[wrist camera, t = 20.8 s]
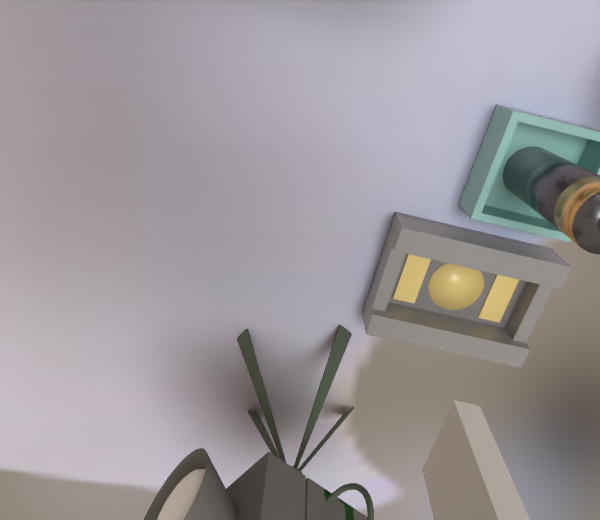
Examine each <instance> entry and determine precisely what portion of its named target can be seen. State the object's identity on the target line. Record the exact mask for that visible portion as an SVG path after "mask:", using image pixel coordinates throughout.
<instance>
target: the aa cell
mask: <svg viewBox="0 0 600 520" xmlns="http://www.w3.org/2000/svg"><path fill="white" fill-rule="evenodd" d="M503 181H504V184H505V186H506V187H507V189H508V190H509V191H511V192H512V193H513V194H514V195H516V196H517V197H518V198H519V199H521V200H522V201H523V202H524V203H526V204H527V205H528V206H530V207H531V208H532V209H533V210H535V211H536V212H537V213H538V214H540V215H541V216H542V217H544V218H545V219H546V220H547V221H549V222H550V223H551V224H552V225H554V226H555V227H556V228H558V229H559V230H560V231H561V232H562V233H563V234H565V235H566V236H567V237H568V238H570V239H571V240H572V241H574V242H575V243H576V244H577V245H579V246H580V247H581V248H583V249H584V250H586V251H588V252H590V253H594V254H600V175H598V174H596V173H593V172H591V171H589V170H587V169H585V168H583V167H581V166H579V165H577V164H575V163H573V162H570V161H568V160H566V159H564V158H562V157H560V156H558V155H556V154H554V153H552V152H550V151H548V150H545V149H543V148H541V147H537V146H530V147H525V148H522V149H520V150H518V151H517V152H515V153H514V154H513V155H512V156H511V157H510V158H509V159H508V161H507V162H506V164H505V166H504V170H503Z"/></svg>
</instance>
